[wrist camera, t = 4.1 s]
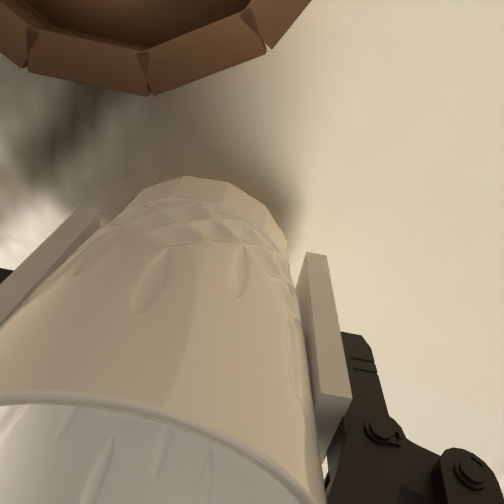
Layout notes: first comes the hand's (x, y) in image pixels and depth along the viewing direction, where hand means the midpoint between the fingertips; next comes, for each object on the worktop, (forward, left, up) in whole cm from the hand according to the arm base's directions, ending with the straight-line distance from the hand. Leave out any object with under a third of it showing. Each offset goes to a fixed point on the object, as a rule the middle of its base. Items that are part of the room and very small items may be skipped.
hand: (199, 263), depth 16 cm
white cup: (0, 0, -1) cm, 1 cm away
